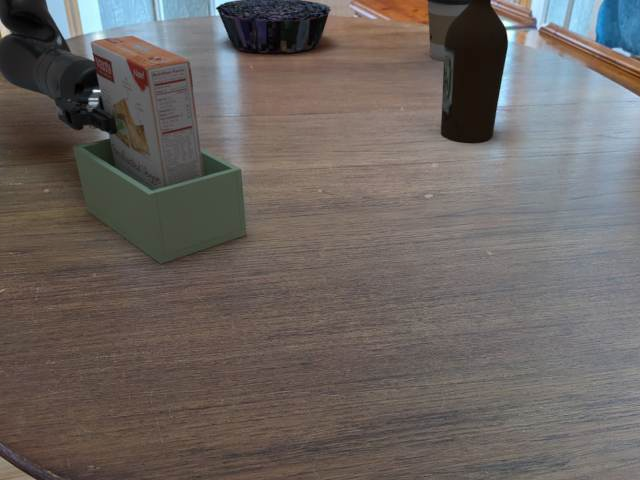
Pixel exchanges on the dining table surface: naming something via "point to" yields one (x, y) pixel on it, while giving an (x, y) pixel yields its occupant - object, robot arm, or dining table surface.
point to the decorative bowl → (274, 24)
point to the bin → (164, 204)
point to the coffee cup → (442, 22)
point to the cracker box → (149, 111)
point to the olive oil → (473, 73)
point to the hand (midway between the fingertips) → (145, 119)
